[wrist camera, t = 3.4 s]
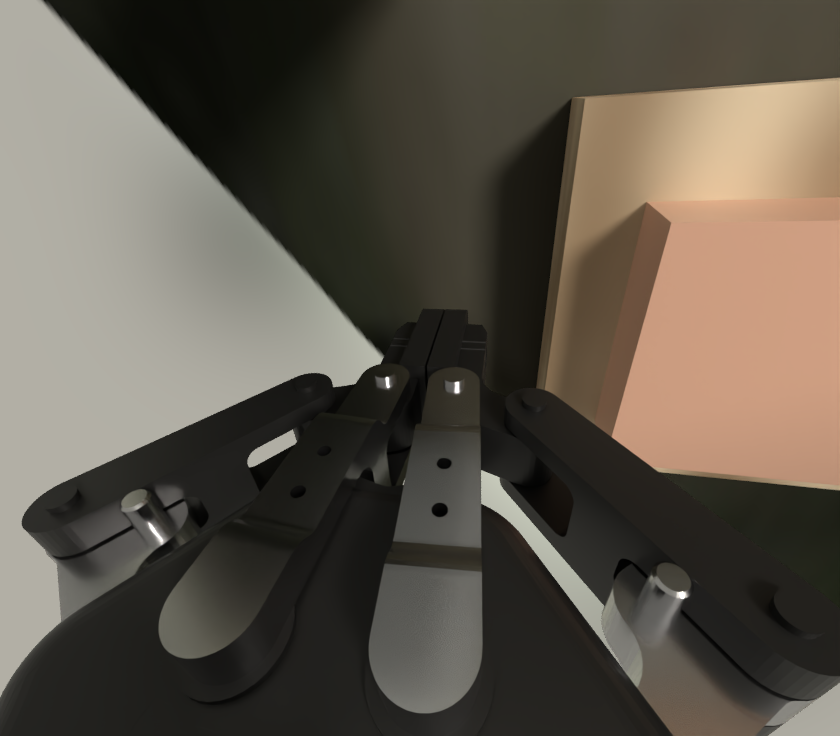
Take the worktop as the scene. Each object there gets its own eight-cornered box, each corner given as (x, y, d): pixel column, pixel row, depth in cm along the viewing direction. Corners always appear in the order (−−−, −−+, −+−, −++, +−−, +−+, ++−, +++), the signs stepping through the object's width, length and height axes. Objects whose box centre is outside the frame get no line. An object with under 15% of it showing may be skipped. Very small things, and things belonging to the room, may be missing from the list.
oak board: (1239, 48, 9) (1489, 32, 7) (903, 443, 17) (968, 503, 14) (572, 97, 12) (585, 98, 10) (533, 414, 20) (535, 459, 17)
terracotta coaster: (1015, 193, 9) (1132, 216, 8) (839, 439, 14) (886, 489, 12) (646, 201, 11) (671, 222, 9) (594, 419, 15) (604, 462, 14)
